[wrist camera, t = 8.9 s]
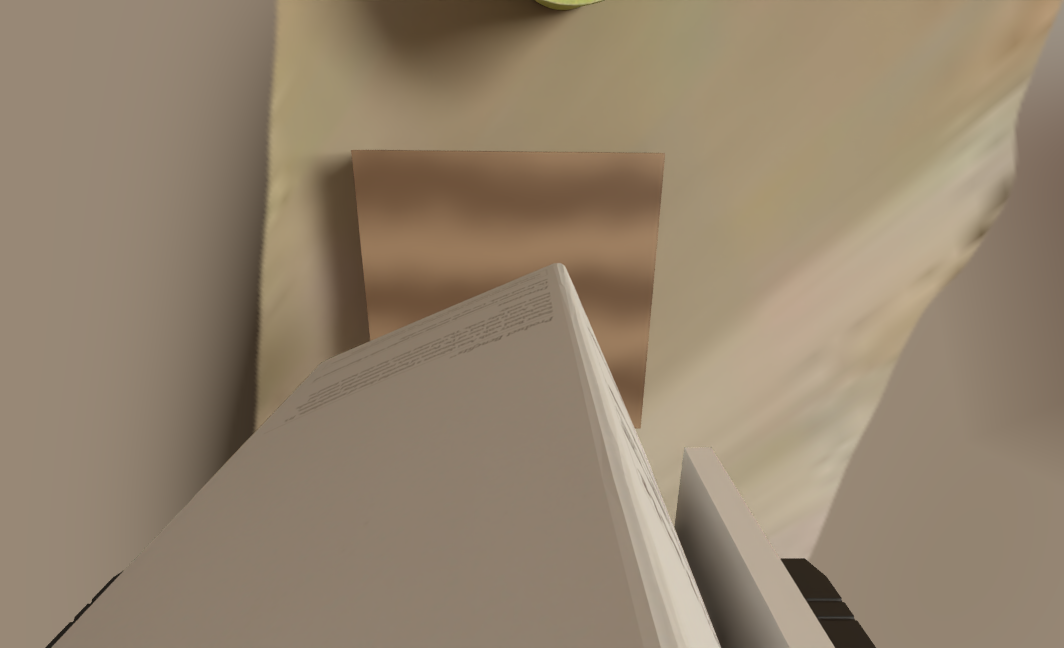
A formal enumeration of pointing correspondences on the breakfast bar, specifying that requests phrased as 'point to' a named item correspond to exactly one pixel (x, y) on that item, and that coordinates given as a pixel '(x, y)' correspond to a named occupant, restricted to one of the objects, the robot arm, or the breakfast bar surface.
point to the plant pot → (566, 3)
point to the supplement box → (427, 505)
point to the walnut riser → (513, 237)
